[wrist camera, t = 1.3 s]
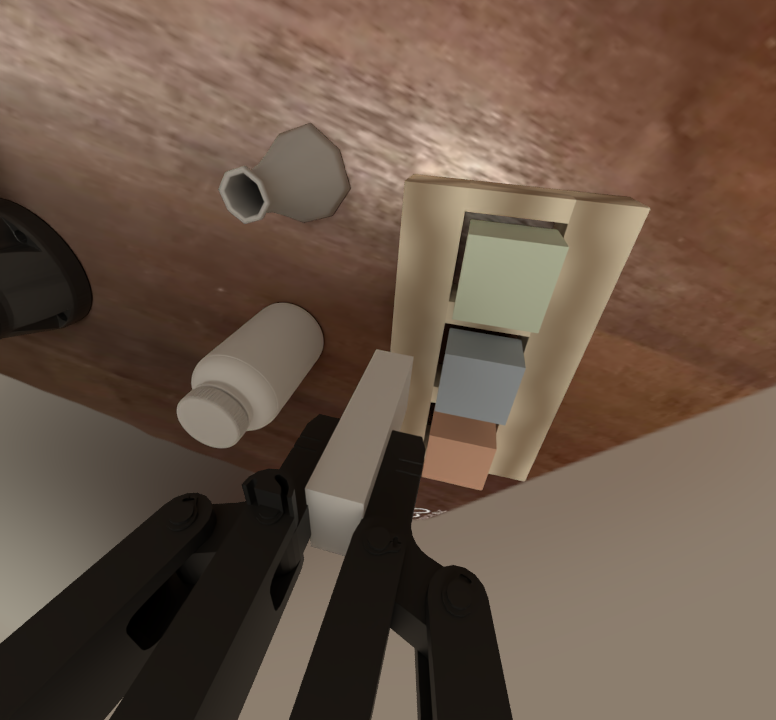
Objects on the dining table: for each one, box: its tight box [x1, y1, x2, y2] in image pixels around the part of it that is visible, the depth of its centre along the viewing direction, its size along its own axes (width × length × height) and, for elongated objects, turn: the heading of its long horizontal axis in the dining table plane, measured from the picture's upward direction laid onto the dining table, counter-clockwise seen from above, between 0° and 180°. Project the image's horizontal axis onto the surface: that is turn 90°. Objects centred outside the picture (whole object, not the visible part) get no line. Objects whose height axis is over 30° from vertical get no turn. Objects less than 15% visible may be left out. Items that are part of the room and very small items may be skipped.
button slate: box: [435, 328, 526, 425], centre depth 30 cm, size 6×6×4 cm
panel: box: [390, 174, 650, 481], centre depth 33 cm, size 16×28×4 cm, turn 176°
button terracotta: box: [422, 408, 497, 490], centre depth 35 cm, size 6×6×4 cm
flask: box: [218, 123, 350, 224], centre depth 26 cm, size 7×7×10 cm
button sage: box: [452, 219, 569, 333], centre depth 25 cm, size 6×6×4 cm
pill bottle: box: [177, 303, 324, 448], centre depth 34 cm, size 8×8×15 cm
